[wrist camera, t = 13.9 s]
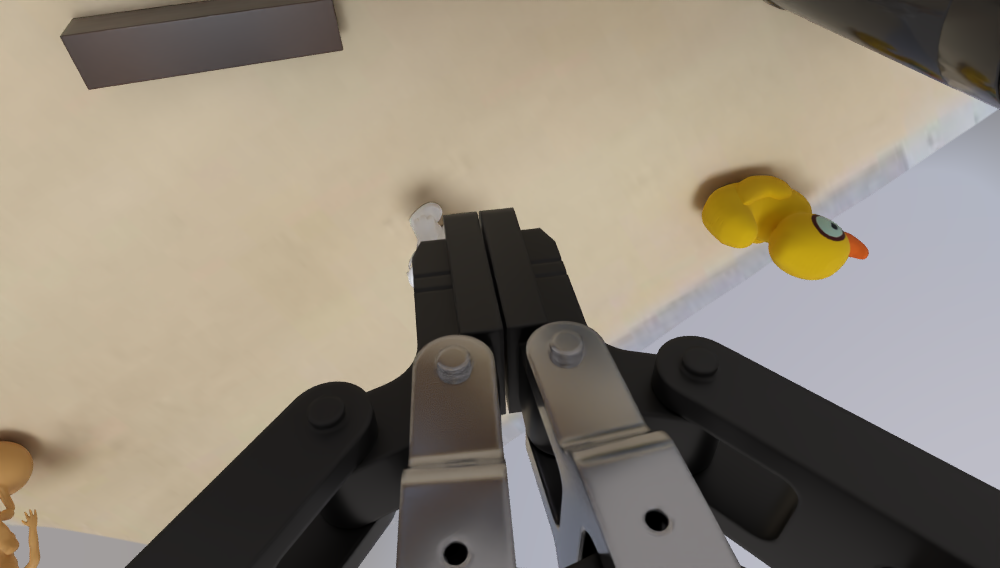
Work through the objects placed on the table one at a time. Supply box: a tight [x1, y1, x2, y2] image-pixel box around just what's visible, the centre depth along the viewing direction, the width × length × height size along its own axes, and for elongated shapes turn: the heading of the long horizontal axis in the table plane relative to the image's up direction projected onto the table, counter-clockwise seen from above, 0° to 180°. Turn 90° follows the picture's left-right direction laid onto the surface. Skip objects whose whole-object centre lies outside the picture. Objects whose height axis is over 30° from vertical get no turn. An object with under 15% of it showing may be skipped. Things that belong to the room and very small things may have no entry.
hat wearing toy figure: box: [407, 202, 445, 288], centre depth 38 cm, size 9×4×12 cm, turn 32°
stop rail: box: [60, 0, 343, 90], centre depth 29 cm, size 12×2×2 cm, turn 93°
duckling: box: [702, 176, 869, 280], centre depth 46 cm, size 11×5×10 cm, turn 79°
